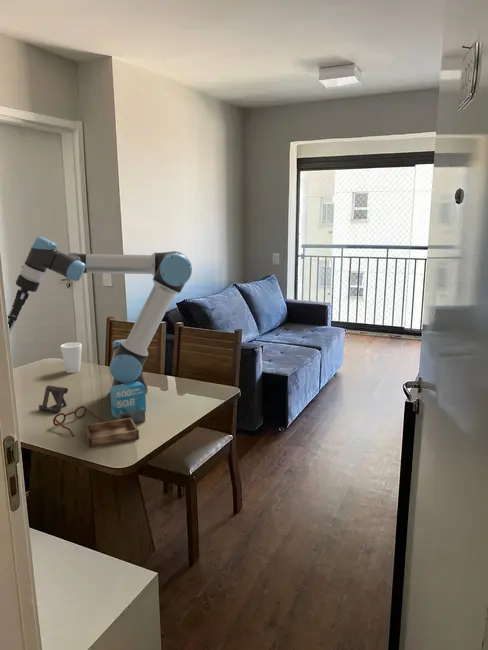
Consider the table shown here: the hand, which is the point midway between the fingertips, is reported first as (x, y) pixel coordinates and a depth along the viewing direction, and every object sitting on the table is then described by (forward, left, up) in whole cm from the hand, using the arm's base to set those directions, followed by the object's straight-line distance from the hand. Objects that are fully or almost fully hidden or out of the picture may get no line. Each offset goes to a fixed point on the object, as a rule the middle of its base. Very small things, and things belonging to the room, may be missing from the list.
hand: (6, 329), depth 178 cm
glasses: (-21, +23, -33) cm, 46 cm away
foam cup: (-25, -43, -32) cm, 59 cm away
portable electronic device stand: (-14, +3, -32) cm, 36 cm away
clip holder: (-39, +21, -32) cm, 55 cm away
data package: (-39, +21, -32) cm, 55 cm away
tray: (-30, +36, -32) cm, 57 cm away
